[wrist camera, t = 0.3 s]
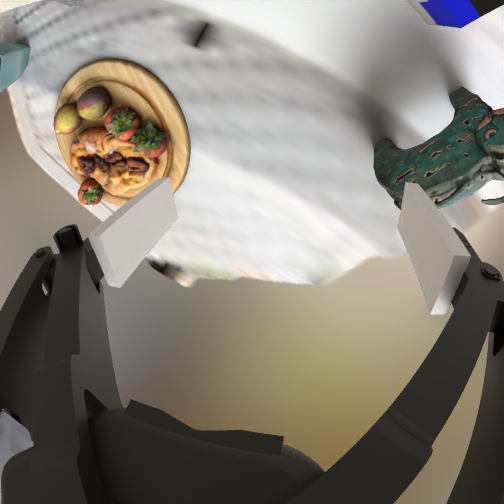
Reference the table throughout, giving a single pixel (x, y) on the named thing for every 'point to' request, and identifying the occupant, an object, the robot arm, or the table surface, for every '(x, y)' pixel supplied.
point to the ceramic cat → (448, 156)
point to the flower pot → (12, 62)
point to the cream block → (13, 4)
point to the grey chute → (71, 2)
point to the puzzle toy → (454, 10)
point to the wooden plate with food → (120, 131)
